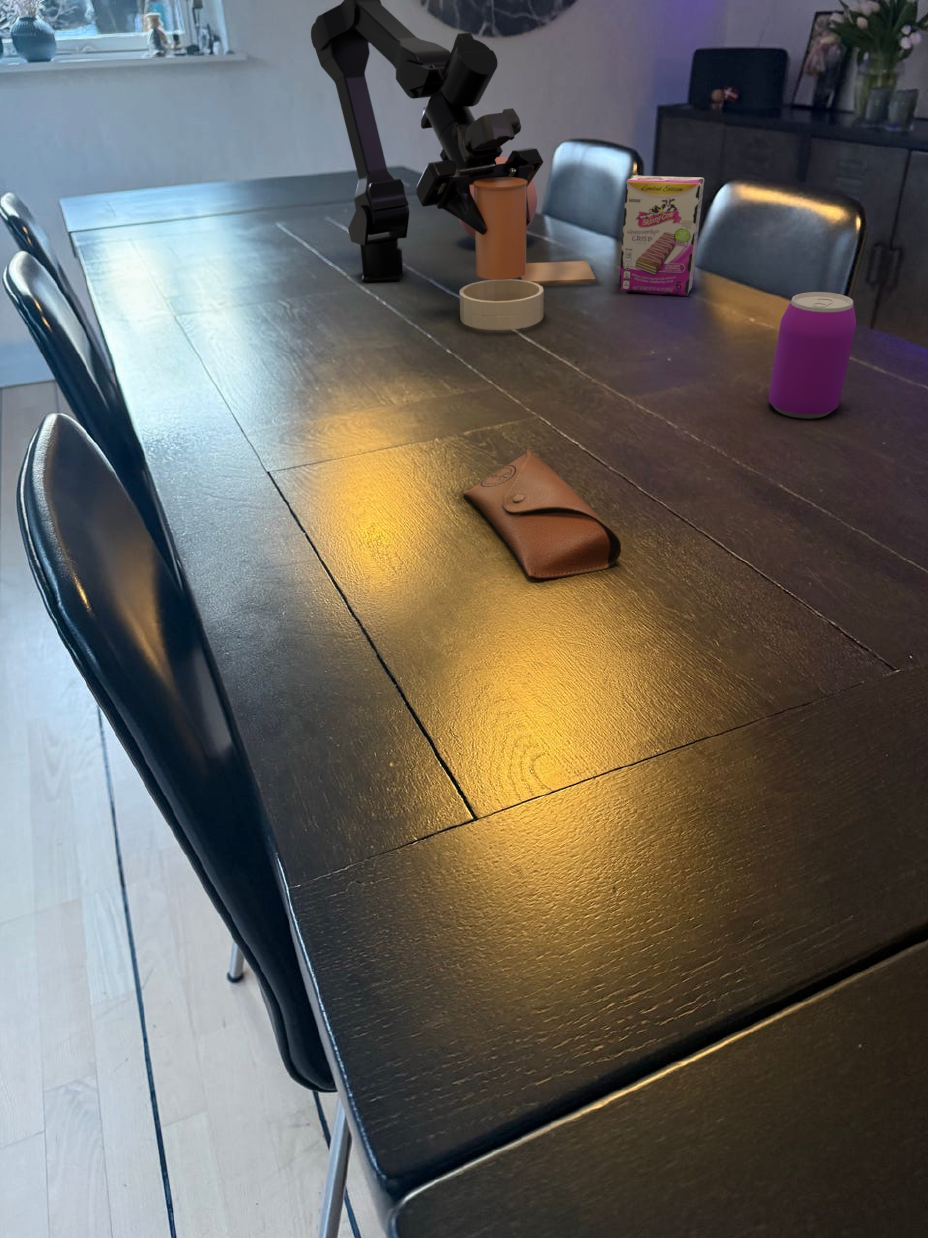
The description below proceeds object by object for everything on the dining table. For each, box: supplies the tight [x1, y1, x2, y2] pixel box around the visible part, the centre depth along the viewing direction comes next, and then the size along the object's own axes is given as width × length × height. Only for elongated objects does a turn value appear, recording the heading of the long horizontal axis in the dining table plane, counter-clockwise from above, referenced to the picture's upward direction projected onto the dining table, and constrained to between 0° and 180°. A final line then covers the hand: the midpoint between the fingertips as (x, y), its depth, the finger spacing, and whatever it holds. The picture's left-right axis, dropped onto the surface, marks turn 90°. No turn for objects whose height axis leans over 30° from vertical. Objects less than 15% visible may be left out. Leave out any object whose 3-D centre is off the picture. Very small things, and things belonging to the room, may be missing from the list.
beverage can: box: [768, 291, 857, 419], centre depth 98 cm, size 8×8×12 cm
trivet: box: [520, 260, 596, 285], centre depth 152 cm, size 12×12×1 cm
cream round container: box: [459, 278, 545, 331], centre depth 132 cm, size 12×12×4 cm
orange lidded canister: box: [473, 177, 527, 280], centre depth 126 cm, size 7×7×12 cm
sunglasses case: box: [462, 448, 622, 580], centre depth 81 cm, size 18×7×7 cm, turn 20°
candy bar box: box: [618, 175, 705, 297], centre depth 138 cm, size 11×5×16 cm, turn 71°
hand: (506, 228), depth 124 cm, fingers closed on orange lidded canister, 7 cm apart
